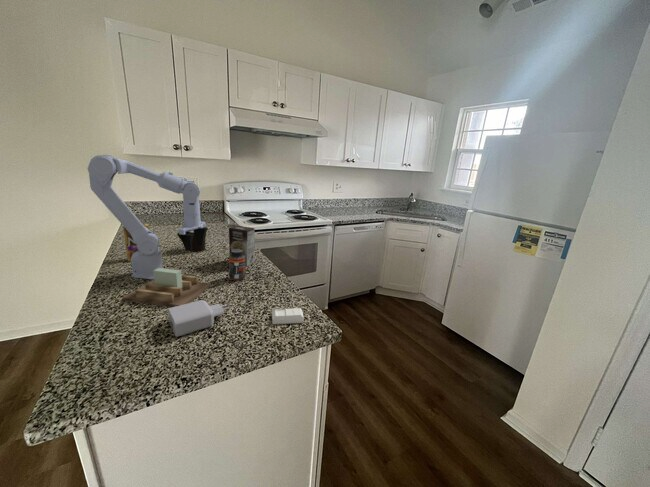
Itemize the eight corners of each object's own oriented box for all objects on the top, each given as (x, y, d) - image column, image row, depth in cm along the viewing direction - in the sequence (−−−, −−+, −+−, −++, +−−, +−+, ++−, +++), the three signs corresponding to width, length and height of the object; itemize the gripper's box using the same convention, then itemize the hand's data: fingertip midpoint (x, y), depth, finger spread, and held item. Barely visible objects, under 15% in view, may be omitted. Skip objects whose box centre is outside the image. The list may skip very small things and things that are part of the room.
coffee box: (229, 263, 119) (227, 227, 114) (237, 258, 125) (236, 224, 120) (247, 266, 117) (246, 230, 112) (255, 261, 123) (254, 227, 118)
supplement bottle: (240, 282, 102) (240, 254, 98) (226, 280, 103) (225, 251, 99) (248, 276, 107) (247, 249, 104) (234, 274, 108) (233, 247, 105)
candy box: (127, 262, 112) (122, 226, 108) (127, 258, 115) (122, 224, 111) (153, 259, 117) (148, 224, 113) (152, 255, 121) (148, 222, 116)
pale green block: (155, 290, 89) (153, 270, 87) (160, 286, 92) (158, 267, 90) (178, 293, 88) (176, 273, 86) (182, 289, 91) (181, 270, 89)
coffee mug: (202, 253, 128) (201, 233, 125) (184, 251, 128) (183, 231, 125) (212, 246, 139) (212, 227, 137) (196, 244, 139) (195, 226, 137)
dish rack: (122, 300, 84) (120, 290, 83) (159, 279, 99) (158, 270, 98) (182, 308, 82) (181, 298, 81) (210, 286, 97) (210, 277, 96)
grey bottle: (234, 320, 78) (176, 339, 69) (222, 306, 85) (168, 321, 75) (233, 306, 77) (174, 322, 67) (222, 293, 83) (167, 306, 74)
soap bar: (303, 323, 79) (303, 315, 79) (272, 325, 77) (272, 317, 77) (301, 314, 84) (301, 307, 83) (272, 316, 82) (272, 308, 81)
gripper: (190, 218, 96) (193, 254, 100) (211, 211, 110) (213, 243, 114) (171, 216, 97) (175, 252, 100) (195, 210, 110) (197, 241, 114)
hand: (194, 247), depth 107 cm, fingers open, 7 cm apart
